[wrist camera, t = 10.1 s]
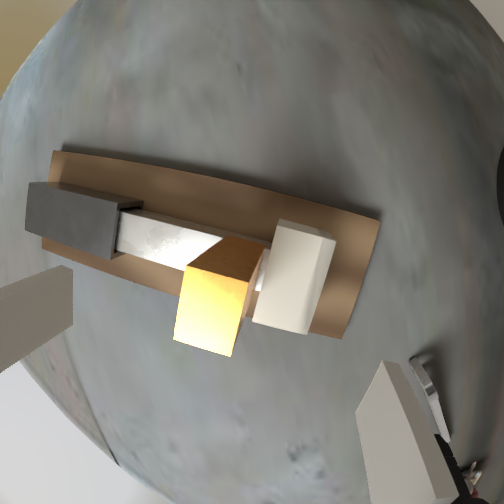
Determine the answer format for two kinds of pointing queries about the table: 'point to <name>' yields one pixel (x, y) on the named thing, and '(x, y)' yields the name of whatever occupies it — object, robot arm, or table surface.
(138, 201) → the outer sleeve
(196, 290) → the stacked block assembly
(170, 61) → the table surface
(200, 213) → the base board
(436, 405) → the caliper
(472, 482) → the brake caliper
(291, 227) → the socket block
